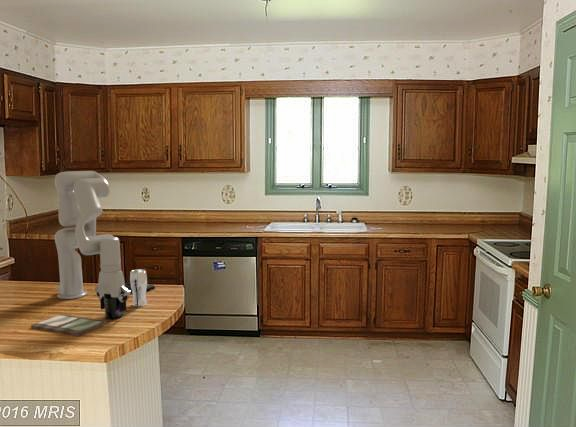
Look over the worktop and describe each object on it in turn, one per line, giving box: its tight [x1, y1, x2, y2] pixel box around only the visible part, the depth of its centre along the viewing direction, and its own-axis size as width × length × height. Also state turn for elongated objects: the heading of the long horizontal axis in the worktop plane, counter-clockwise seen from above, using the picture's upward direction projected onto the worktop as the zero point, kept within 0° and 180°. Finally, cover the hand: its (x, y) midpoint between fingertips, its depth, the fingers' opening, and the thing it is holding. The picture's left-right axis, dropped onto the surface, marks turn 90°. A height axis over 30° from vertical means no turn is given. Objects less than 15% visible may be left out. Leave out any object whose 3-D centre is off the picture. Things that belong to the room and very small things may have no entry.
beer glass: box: [129, 268, 148, 308], centre depth 211 cm, size 7×7×15 cm
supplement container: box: [104, 293, 123, 320], centre depth 195 cm, size 7×7×10 cm
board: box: [30, 313, 108, 337], centre depth 186 cm, size 24×14×1 cm, turn 67°
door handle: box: [125, 282, 156, 294], centre depth 238 cm, size 3×20×16 cm
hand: (113, 309), depth 195 cm, fingers open, 9 cm apart
